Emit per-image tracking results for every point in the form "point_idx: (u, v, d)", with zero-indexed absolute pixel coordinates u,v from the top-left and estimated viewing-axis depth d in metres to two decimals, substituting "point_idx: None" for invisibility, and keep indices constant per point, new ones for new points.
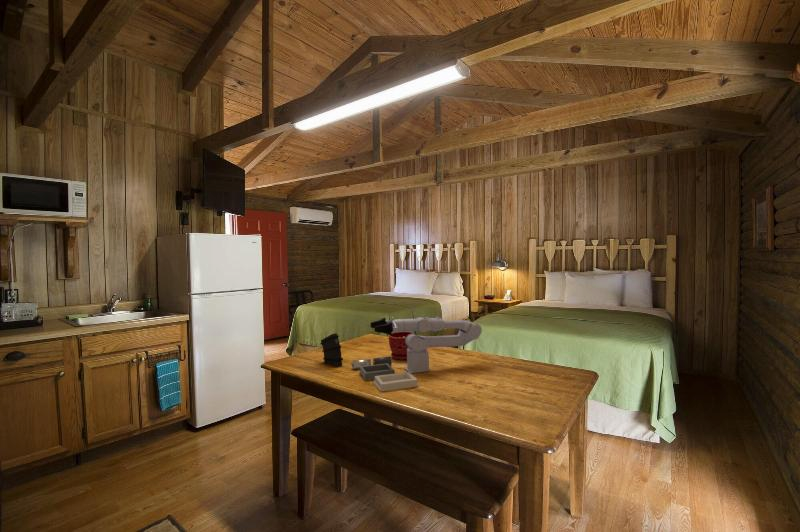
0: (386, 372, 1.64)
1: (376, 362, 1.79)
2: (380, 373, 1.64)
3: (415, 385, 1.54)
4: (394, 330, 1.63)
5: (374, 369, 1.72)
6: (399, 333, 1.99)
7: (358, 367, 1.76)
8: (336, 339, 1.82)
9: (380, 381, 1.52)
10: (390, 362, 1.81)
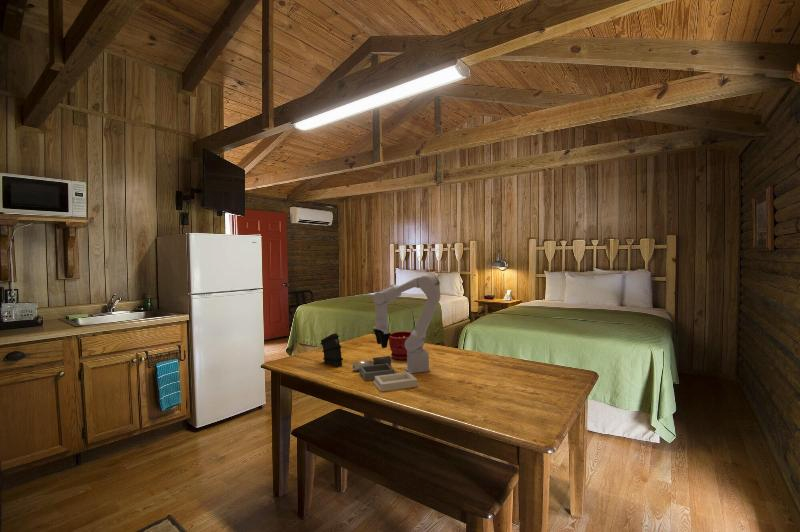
0: (386, 372, 1.64)
1: (375, 360, 1.80)
2: (380, 373, 1.64)
3: (415, 385, 1.54)
4: (386, 332, 1.74)
5: (374, 369, 1.72)
6: (399, 333, 1.99)
7: None
8: (336, 339, 1.82)
9: (380, 381, 1.52)
10: (389, 360, 1.82)
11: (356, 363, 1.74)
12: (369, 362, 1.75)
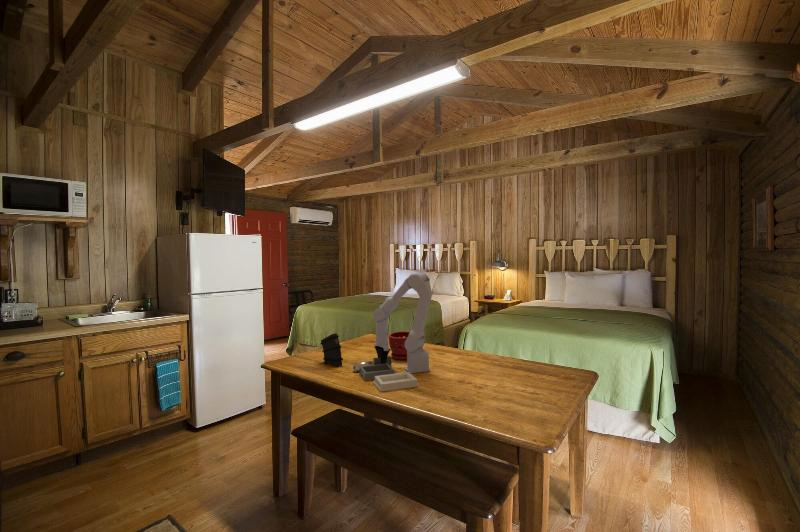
0: (386, 372, 1.64)
1: (376, 362, 1.79)
2: (380, 373, 1.64)
3: (415, 385, 1.54)
4: (386, 349, 1.74)
5: (374, 369, 1.72)
6: (399, 333, 1.99)
7: None
8: (336, 339, 1.82)
9: (380, 381, 1.52)
10: (390, 362, 1.81)
11: (357, 366, 1.72)
12: None
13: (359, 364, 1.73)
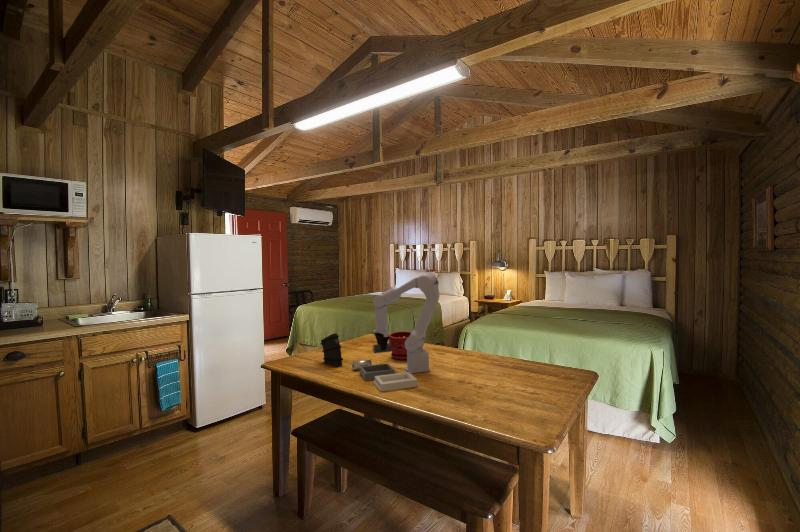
0: (386, 372, 1.64)
1: (376, 348, 1.78)
2: (380, 373, 1.64)
3: (415, 385, 1.54)
4: (386, 335, 1.74)
5: (374, 369, 1.72)
6: (399, 333, 1.99)
7: (358, 369, 1.76)
8: (336, 339, 1.82)
9: (380, 381, 1.52)
10: (390, 349, 1.80)
11: (355, 361, 1.76)
12: (368, 360, 1.78)
13: None
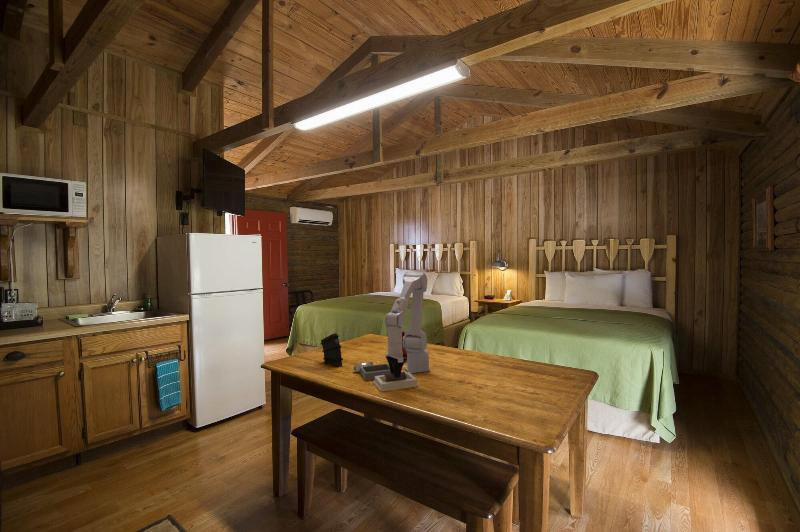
0: (386, 372, 1.64)
1: (388, 379, 1.53)
2: (380, 373, 1.64)
3: (415, 385, 1.54)
4: (401, 361, 1.49)
5: (374, 369, 1.72)
6: None
7: None
8: (336, 339, 1.82)
9: (380, 381, 1.52)
10: (404, 379, 1.56)
11: (358, 369, 1.71)
12: None
13: None
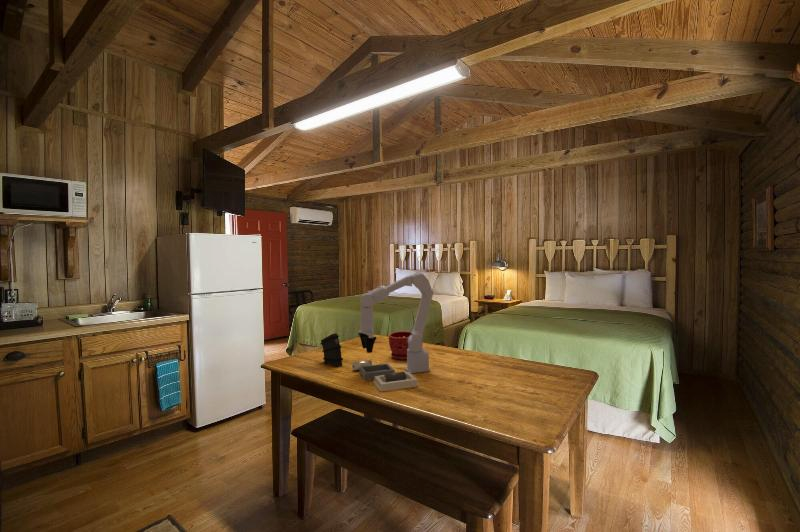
0: (386, 372, 1.64)
1: (388, 379, 1.53)
2: (380, 373, 1.64)
3: (415, 385, 1.54)
4: (371, 336, 1.66)
5: (374, 369, 1.72)
6: (399, 333, 1.99)
7: None
8: (336, 339, 1.82)
9: (380, 381, 1.52)
10: (404, 379, 1.56)
11: (356, 362, 1.74)
12: (369, 361, 1.76)
13: (358, 361, 1.75)
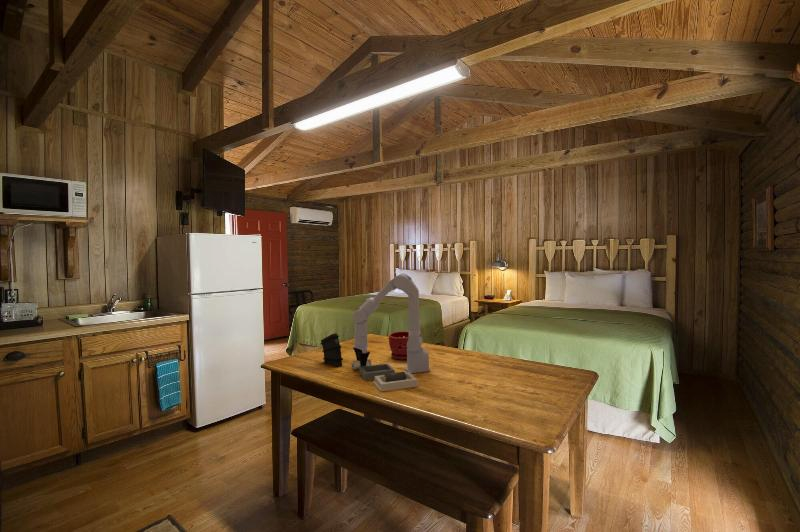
0: (386, 372, 1.64)
1: (388, 379, 1.53)
2: (380, 373, 1.64)
3: (415, 385, 1.54)
4: (365, 352, 1.71)
5: (374, 369, 1.72)
6: (399, 333, 1.99)
7: None
8: (336, 339, 1.82)
9: (380, 381, 1.52)
10: (404, 379, 1.56)
11: (355, 361, 1.76)
12: (367, 360, 1.78)
13: None
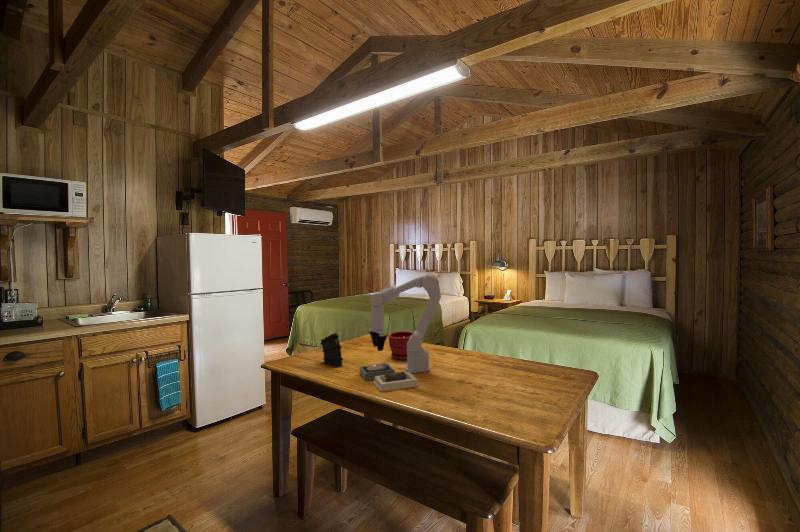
0: (386, 372, 1.64)
1: (388, 379, 1.53)
2: (380, 373, 1.64)
3: (415, 385, 1.54)
4: (382, 335, 1.69)
5: None
6: (399, 333, 1.99)
7: None
8: (336, 339, 1.82)
9: (380, 381, 1.52)
10: (404, 379, 1.56)
11: (369, 365, 1.67)
12: (382, 363, 1.69)
13: None
